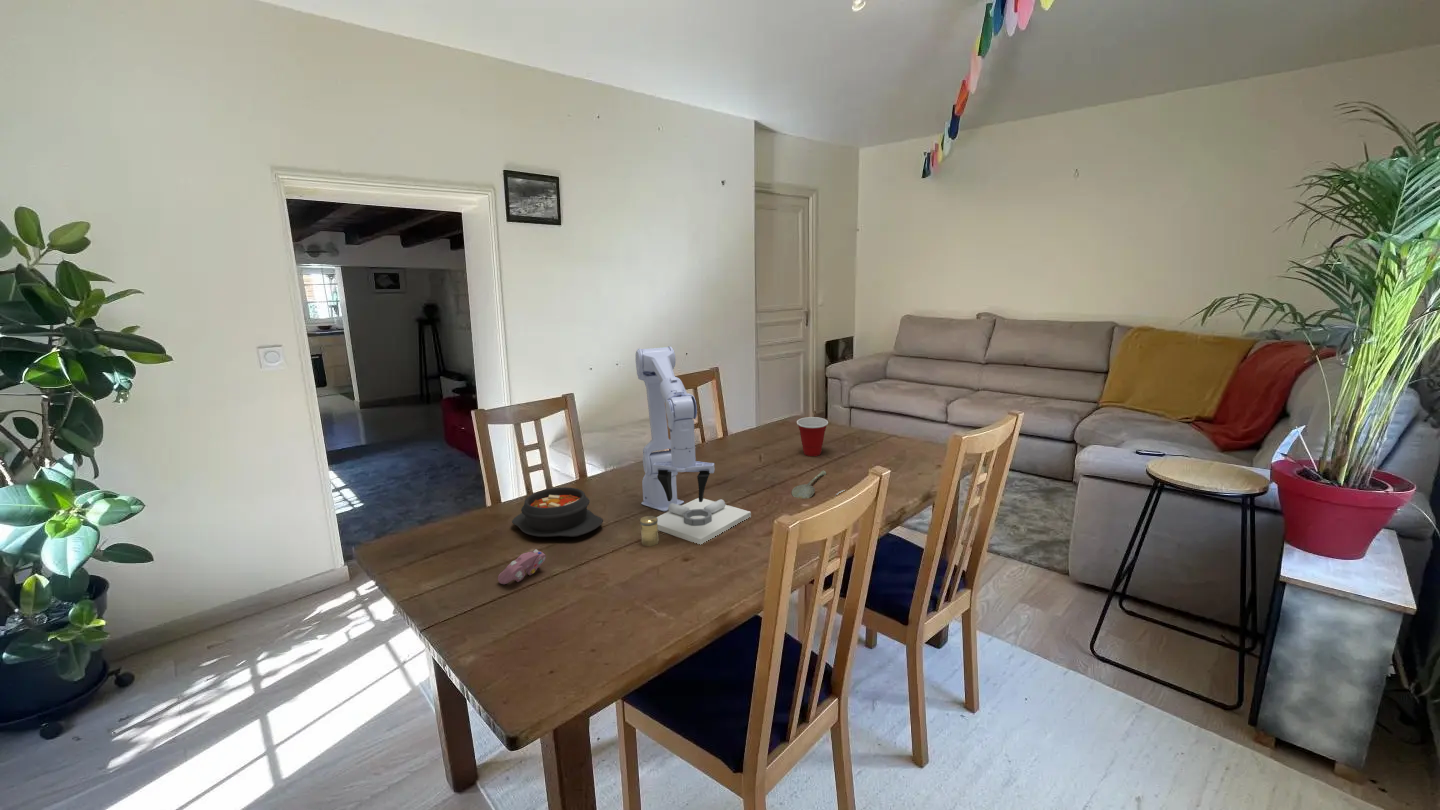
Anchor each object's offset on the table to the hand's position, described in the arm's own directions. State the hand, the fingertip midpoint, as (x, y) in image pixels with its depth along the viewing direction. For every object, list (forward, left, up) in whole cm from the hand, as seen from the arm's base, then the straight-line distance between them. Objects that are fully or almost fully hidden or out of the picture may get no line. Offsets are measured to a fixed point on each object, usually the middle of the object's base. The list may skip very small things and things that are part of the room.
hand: (685, 500), depth 143 cm
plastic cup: (-9, +75, -10) cm, 76 cm away
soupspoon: (+7, +48, -10) cm, 49 cm away
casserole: (-31, -15, -10) cm, 36 cm away
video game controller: (-16, -35, -10) cm, 40 cm away
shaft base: (-3, +9, -10) cm, 13 cm away
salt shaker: (-5, -7, -10) cm, 13 cm away
